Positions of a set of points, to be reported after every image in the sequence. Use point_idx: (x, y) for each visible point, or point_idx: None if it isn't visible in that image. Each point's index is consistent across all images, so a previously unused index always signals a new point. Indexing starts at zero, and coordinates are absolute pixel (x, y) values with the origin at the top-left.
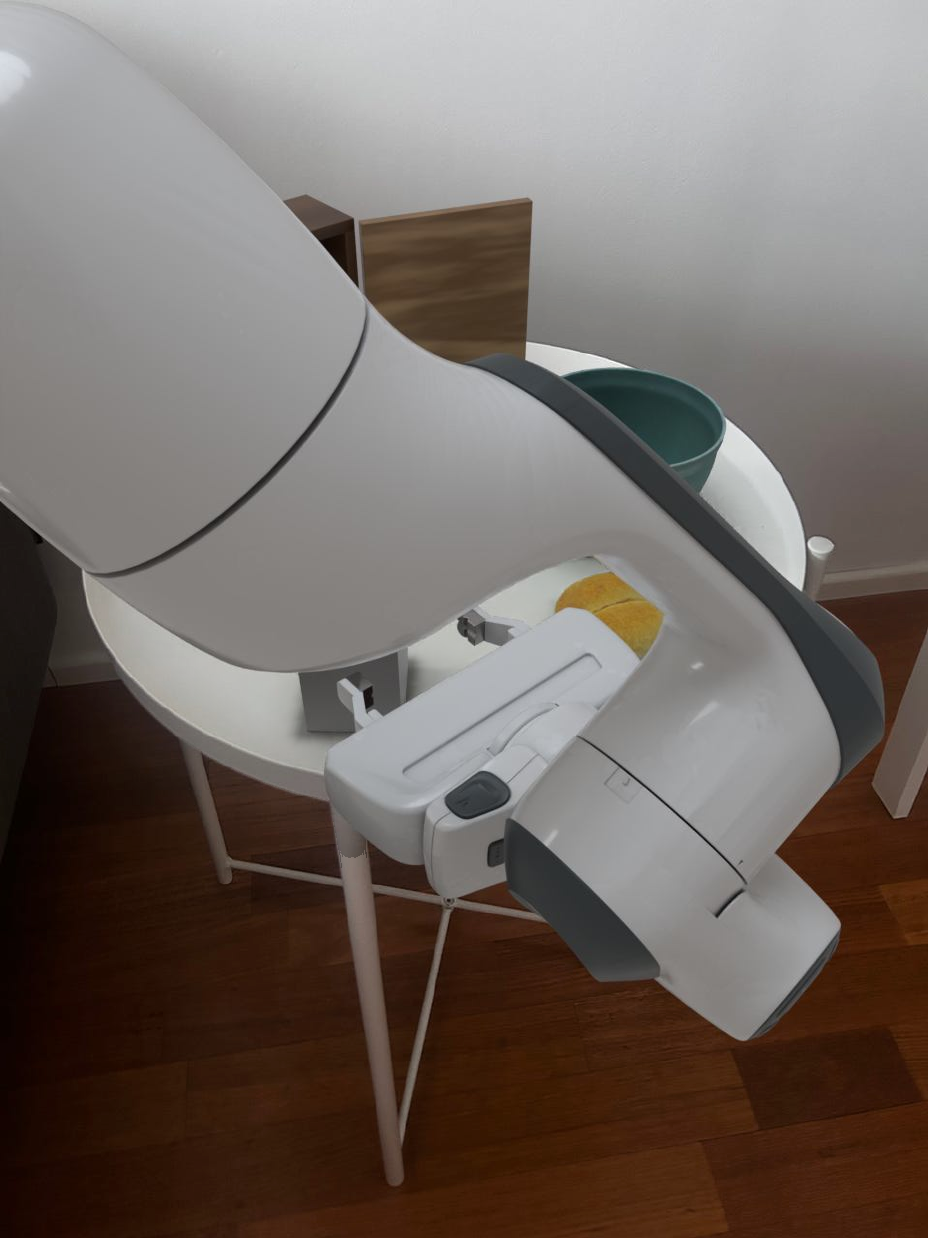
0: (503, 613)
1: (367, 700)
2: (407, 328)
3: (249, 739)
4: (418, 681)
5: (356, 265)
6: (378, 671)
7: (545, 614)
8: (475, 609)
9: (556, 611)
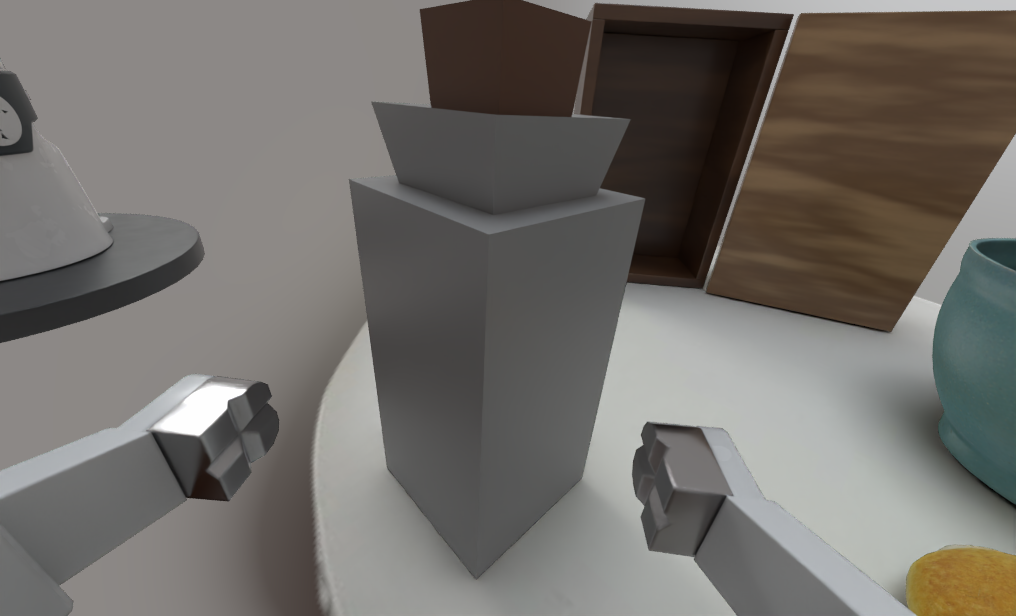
0: (782, 503)
1: (191, 474)
2: (801, 157)
3: (336, 428)
4: (576, 511)
5: (772, 75)
6: (452, 442)
7: (872, 559)
8: (712, 439)
9: (916, 578)
